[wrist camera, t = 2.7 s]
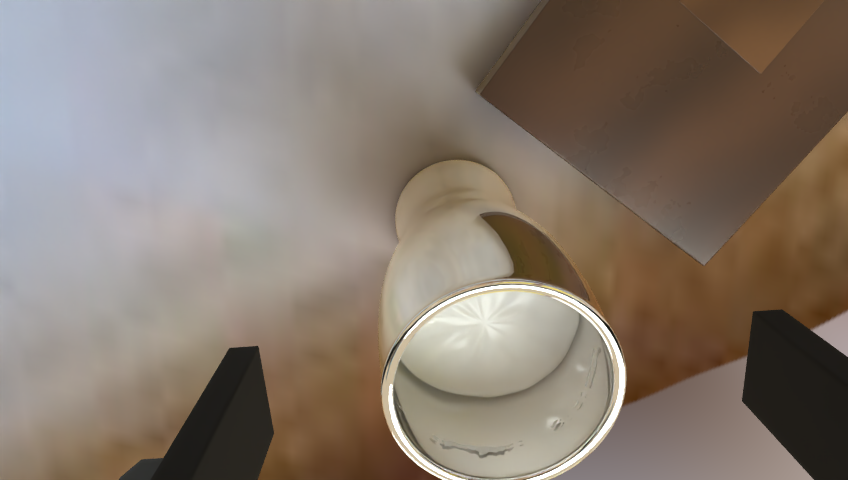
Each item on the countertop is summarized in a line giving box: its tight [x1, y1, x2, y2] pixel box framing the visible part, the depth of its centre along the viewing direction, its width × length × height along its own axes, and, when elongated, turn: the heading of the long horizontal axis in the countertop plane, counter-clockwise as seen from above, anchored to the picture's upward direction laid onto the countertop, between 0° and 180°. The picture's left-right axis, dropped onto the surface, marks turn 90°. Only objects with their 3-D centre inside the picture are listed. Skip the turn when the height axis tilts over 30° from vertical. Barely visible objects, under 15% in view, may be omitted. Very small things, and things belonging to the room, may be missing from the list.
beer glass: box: [378, 160, 626, 480], centre depth 22 cm, size 7×7×15 cm
